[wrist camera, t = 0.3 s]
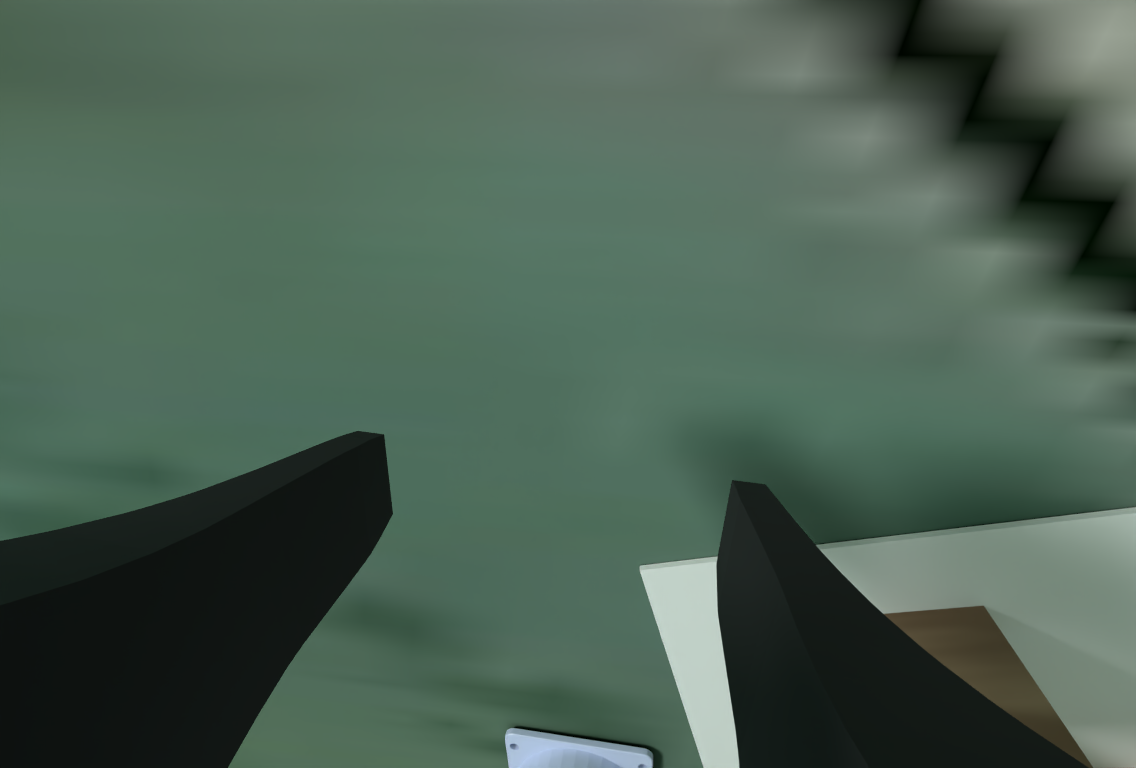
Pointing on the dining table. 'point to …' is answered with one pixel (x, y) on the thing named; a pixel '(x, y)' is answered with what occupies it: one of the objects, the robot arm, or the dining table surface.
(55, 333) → the dining table surface
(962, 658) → the domino
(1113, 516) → the white flat board
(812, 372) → the dining table surface
